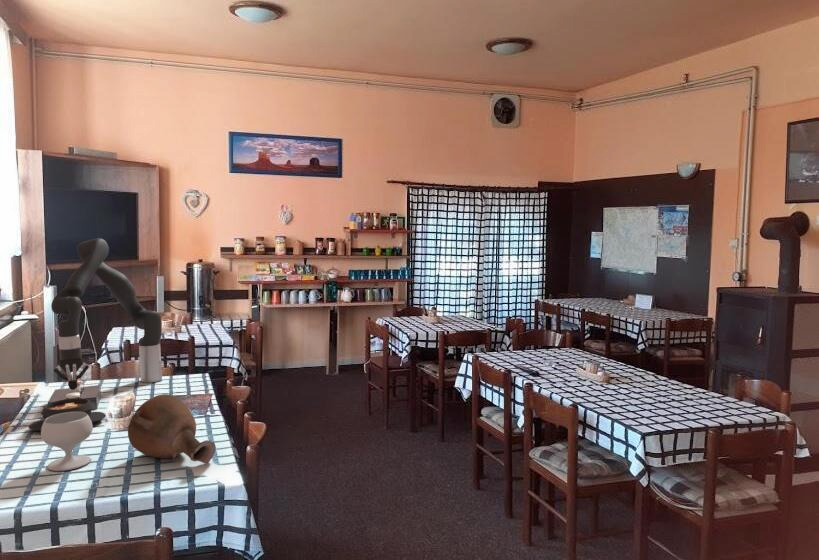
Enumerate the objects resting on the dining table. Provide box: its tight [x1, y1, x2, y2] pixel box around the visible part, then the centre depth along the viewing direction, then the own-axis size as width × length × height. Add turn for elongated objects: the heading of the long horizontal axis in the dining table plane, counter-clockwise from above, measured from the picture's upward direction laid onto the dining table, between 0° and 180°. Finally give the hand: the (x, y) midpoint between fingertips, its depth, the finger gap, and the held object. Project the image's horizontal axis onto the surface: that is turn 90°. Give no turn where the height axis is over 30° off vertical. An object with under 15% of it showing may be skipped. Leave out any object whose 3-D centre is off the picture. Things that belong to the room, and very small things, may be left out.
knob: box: [66, 392, 80, 399], centre depth 249 cm, size 5×5×6 cm
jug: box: [127, 393, 216, 464], centre depth 196 cm, size 20×20×30 cm
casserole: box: [28, 398, 107, 431], centre depth 229 cm, size 25×19×8 cm
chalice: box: [40, 412, 94, 472], centre depth 192 cm, size 14×14×15 cm
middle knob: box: [67, 379, 83, 394], centre depth 255 cm, size 5×5×6 cm
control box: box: [47, 384, 102, 411], centre depth 255 cm, size 17×20×5 cm
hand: (73, 389), depth 248 cm, fingers closed
